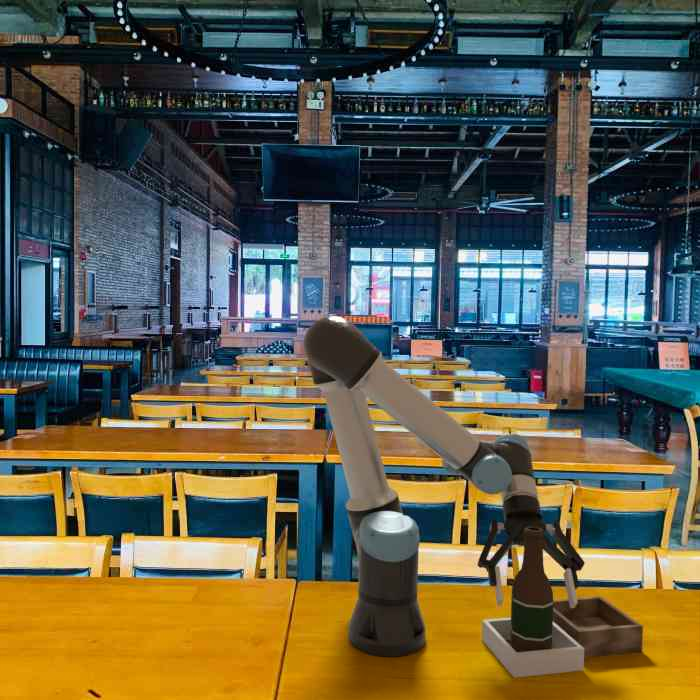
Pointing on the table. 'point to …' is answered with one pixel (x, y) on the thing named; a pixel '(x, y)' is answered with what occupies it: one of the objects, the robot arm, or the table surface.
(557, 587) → the table surface
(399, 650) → the robot arm
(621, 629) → the wooden bin
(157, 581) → the table surface
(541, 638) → the beer bottle
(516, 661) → the white corral
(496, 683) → the table surface
